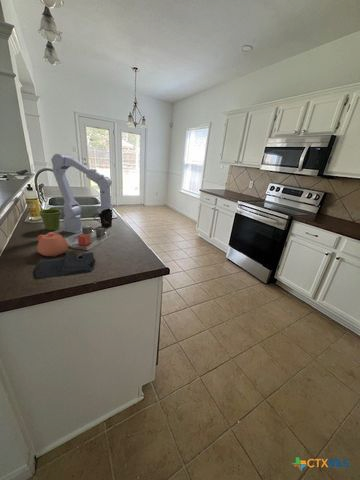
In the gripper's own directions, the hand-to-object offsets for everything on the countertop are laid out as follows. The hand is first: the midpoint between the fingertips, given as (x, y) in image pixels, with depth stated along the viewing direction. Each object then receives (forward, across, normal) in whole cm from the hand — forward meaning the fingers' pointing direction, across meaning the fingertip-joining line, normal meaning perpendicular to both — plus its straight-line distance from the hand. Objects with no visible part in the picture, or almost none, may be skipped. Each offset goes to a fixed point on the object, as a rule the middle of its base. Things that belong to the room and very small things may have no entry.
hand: (106, 221), depth 121 cm
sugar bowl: (+8, -33, +8) cm, 35 cm away
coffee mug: (+8, +13, +10) cm, 19 cm away
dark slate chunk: (+9, -42, -7) cm, 43 cm away
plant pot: (+8, -6, +34) cm, 36 cm away
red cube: (+6, -21, 0) cm, 22 cm away
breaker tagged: (+6, -7, 0) cm, 9 cm away
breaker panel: (+8, -13, +4) cm, 16 cm away
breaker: (+6, -7, +9) cm, 13 cm away
